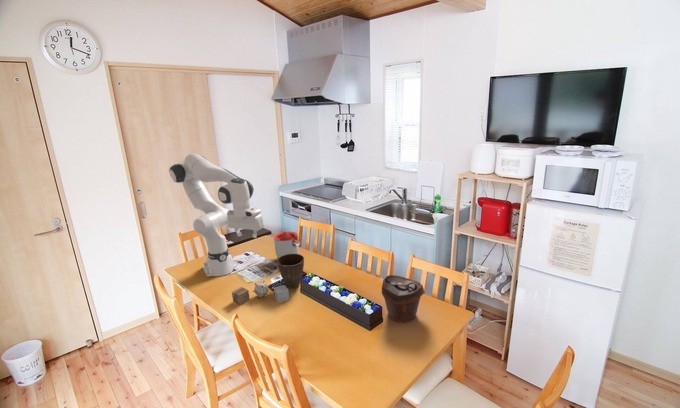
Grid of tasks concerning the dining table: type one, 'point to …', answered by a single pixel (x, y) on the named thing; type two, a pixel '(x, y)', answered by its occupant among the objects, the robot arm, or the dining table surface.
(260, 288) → the grey spiky ball
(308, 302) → the dining table surface
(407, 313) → the dark brown lidded bucket
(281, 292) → the grey block
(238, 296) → the walnut block
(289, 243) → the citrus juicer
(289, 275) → the plant pot
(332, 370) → the dining table surface
